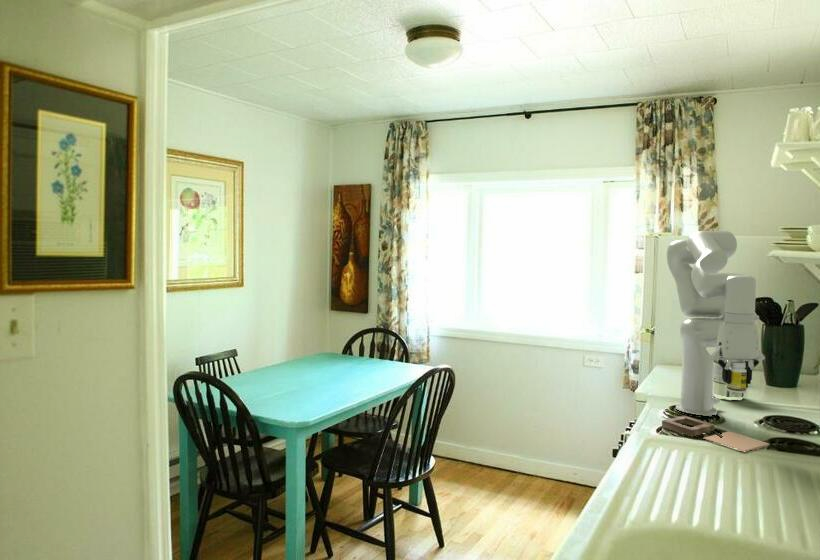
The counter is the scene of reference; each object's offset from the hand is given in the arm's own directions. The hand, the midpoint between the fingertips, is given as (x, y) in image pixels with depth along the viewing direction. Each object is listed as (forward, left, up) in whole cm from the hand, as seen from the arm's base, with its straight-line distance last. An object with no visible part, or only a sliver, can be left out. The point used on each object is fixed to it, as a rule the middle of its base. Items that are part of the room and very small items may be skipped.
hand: (736, 382), depth 170 cm
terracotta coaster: (0, 0, -17) cm, 17 cm away
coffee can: (-43, -31, -18) cm, 56 cm away
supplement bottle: (0, 0, -3) cm, 3 cm away
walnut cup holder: (+2, -14, -17) cm, 22 cm away
